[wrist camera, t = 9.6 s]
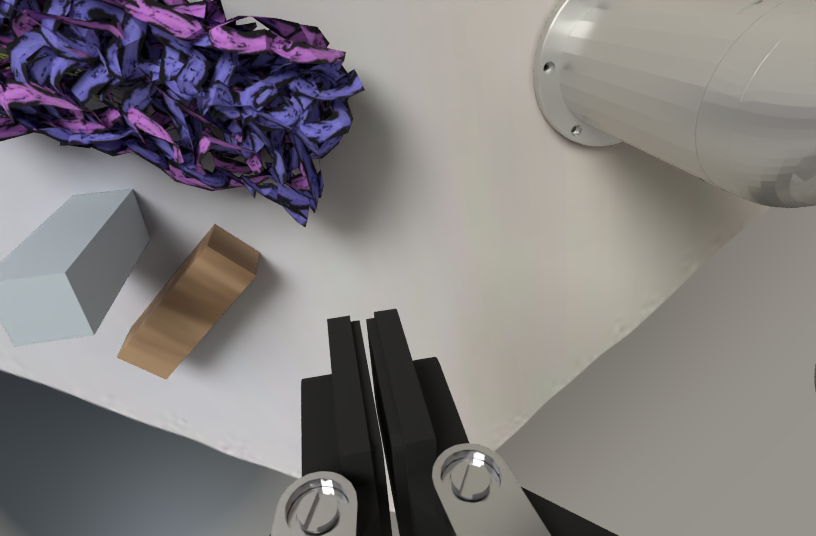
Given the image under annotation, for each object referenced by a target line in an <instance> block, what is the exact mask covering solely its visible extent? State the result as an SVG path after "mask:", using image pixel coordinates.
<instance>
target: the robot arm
mask: <svg viewBox="0 0 816 536" xmlns="http://www.w3.org/2000/svg"><path fill="white" fill-rule="evenodd" d="M545 64H547V67H546V69H545V70H543V68H544V65H545ZM533 74H534V89H535V93H536V98H537V102H538V105H539V107H540V109H541V111H542V113H543V115H544V117H545V118H546V120H547V121H548V122H549V124H550V125H551V126H552V127H553V128H554V129H555V130H556V131H558V132H559V133H560V134H561V135H563V136H564V137H566V138H568V139H570V140H572V141H574V142H577V143H580V144H583V145H587V146H597V147H600V146H609V145H614V144H618V143H621V142H625V143H627V144H629V145H631V146H633V147H635V148H637V149H639V150H642V151H644V152H646V153H648V154H650V155H652V156H654V157H656V158H658V159H660V160H662V161H664V162H666V163H669V164H671V165H673V166H675V167H677V168H679V169H681V170H683V171H685V172H687V173H689V174H691V175H693V176H696V177H698V178H700V179H702V180H704V181H706V182H708V183H710V184H712V185H714V186H716V187H718V188H720V189H723V190H725V191H728V192H730V193H732V194H734V195H736V196H738V197H741V198H743V199H745V200H748V201H751V202H754V203H757V204H761V205H765V206H770V207H782V208H798V207H807V206H815V205H816V0H561V1H560V2H559V3H558V5H557V6H556V8H555V9H554V11H553V12H552V14H551V16H550V17H549V19H548V21H547V23H546V25H545V27H544V30H543V32H542V34H541V36H540V40H539V43H538V47H537V50H536V54H535V62H534V71H533ZM573 127H574V128H573ZM572 128H573V130H572ZM366 322H367V331H368V340H369V349H370V358H371V367H372V375H373V384H374V393H375V402H376V408H375V403H374V397H373V392H372V387H371V381H370V376H369V370H368V365H367V359H366V354H365V348H364V343H363V337H362V332H361V326H360V321H359V320H358V321H352V322H351V321H350V316H345V317H338V318H331V319H327V323H328V335H329V346H330V358H331V369H332V374H330V375H324V376H318V377H312V378H306V379H302V381H301V429H302V477H301V478H299V479H297V480H296V481H295V482H294V483H293V484H291V485H290V486H289V487H288V488H287V489H286V491H285V492H284V493H283V495H282V496H281V498H280V500H279V503H278V506H277V508H276V513H275V518H274V523H273V528H272V533H271V535H270V536H392V530H391V520H390V511H389V501H388V492H387V483H386V474H385V465H384V456H383V449H382V442H383V447H384V453H385V458H386V464H387V469H388V474H389V480H390V485H391V491H392V496H393V501H394V507H395V512H396V518H397V523H398V529H399V534H400V536H618V535H616V534H614V533H612V532H610V531H608V530H606V529H604V528H602V527H600V526H598V525H596V524H594V523H592V522H590V521H588V520H586V519H584V518H582V517H580V516H578V515H576V514H574V513H572V512H570V511H568V510H566V509H564V508H562V507H560V506H558V505H556V504H554V503H552V502H550V501H548V500H546V499H544V498H542V497H540V496H538V495H536V494H534V493H532V492H530V491H528V490H526V489H524V488H522V487H520V485H519V484H518V482H517V481H516V479H515V477H514V476H513V474H512V473H511V471H510V469H509V468H508V466H507V465H506V463H505V462H504V461H503V459H502V458H501V457H500V456H499V455H498V454H497V453H495V452H494V451H492V450H491V449H489V448H487V447H484V446H482V445H479V444H469V441H468V438H467V436H466V433H465V430H464V428H463V425H462V422H461V420H460V417H459V414H458V411H457V409H456V406H455V403H454V401H453V398H452V395H451V393H450V390H449V387H448V385H447V382H446V379H445V377H444V374H443V371H442V369H441V366H440V363H439V361H438V359H437V358H436V357H432V358H426V359H420V360H414V361H412V358H411V354H410V351H409V348H408V344H407V341H406V338H405V335H404V331H403V328H402V325H401V321H400V318H399V315H398V312H397V309H391V310H384V311H378V312H374V318H371V319H366ZM815 390H816V367H815ZM376 409H377V414H376ZM377 415H378V419H377ZM378 420H379V425H378ZM379 426H380V430H379ZM380 431H381V436H380ZM381 437H382V442H381Z"/></svg>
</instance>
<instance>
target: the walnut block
mask: <svg viewBox="0 0 816 536" xmlns="http://www.w3.org/2000/svg"><path fill="white" fill-rule="evenodd" d="M258 259H259V252H258V251H257V250H255V249H254V248H252V247H250V246H249V245H247V244H246V243H244V242H243V241H241V240H239V239H238V238H236V237H235V236H233V235H231V234H230V233H228V232H227V231H225V230H224V229H222V228H220V227H219V226H217V225H216V224H214V226H213V227H212V228H211V229H210V231H209V232H208V233H207V234H206V236H205V237H204V238H203V239H202V241H201V242H200V243H199V244H198V245H197V247H196V248H195V249H194V250H193V252H192V253H191V254H190V255H189V257H188V258H187V259H186V260H185V262H184V263H183V264H182V265H181V267H180V268H179V269H178V270H177V272H176V273H175V274H174V275H173V276H172V278H171V279H170V280H169V281H168V283H167V284H166V285H165V286H164V288H163V289H162V290H161V291H160V293H159V294H158V295H157V296H156V298H155V299H154V300H153V301H152V302H151V304H150V305H149V306H148V307H147V309H146V310H145V311H144V312H143V314H142V315H141V316H140V317H139V319H138V320H137V321H136V322H135V324H134V325H133V326H132V327H131V329H130V331H129V333H128V335H127V337H126V339H125V341H124V343H123V345H122V347H121V350H120V352H119V354H118V356H117V358H119V359H121V360H124V361H126V362H128V363H130V364H133V365H135V366H137V367H139V368H142V369H144V370H146V371H148V372H150V373H153V374H155V375H157V376H159V377H162V378H164V379H167V378H168V377H169V376H170V375H171V373H172V372H173V371H174V370H175V369H176V368H177V366H178V365H179V364H180V363H181V362H182V361H183V360H184V358H185V357H186V356H187V355H188V354H189V353H190V351H191V350H192V349H193V348H194V347H195V346H196V345H197V343H198V342H199V341H200V340H201V339H202V338H203V336H204V335H205V334H206V333H207V332H208V331H209V330H210V328H211V327H212V326H213V325H214V324H215V323H216V321H217V320H218V319H219V318H220V317H221V316H222V315H223V313H224V312H225V311H226V310H227V309H228V308H229V306H230V305H231V304H232V303H233V302H234V301H235V300H236V298H237V297H238V296H239V295H240V294H241V293H242V291H243V290H244V289H245V288H246V287H247V286H248V285H249V283H250V282H251V281H252V280H253V279H254V278H255V276H256V273H257V266H258Z"/></svg>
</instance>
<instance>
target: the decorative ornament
mask: <svg viewBox="0 0 816 536" xmlns="http://www.w3.org/2000/svg"><path fill="white" fill-rule="evenodd" d="M246 17H249V16H237V17H235V18H233V19H232V18H231V19H229V20H227V21H226V17H225V14H224V10H223V7H222V3H221V0H213V1H211V0H203V1H200V2H193V3H189V2H188V1H187V0H0V43H1V44H3V46H0V47H3V48H4V47H5V49H6V48H7V52H8V55H6V54H3V53H0V58H3V59H5V60H3V61H1V62H0V141H4V140H7V139H11V138H15V137H19V136H22V135H26V134H30V133H33V132H35V133H41V134H45V135H47V136H49V137H51V138H53V139H55V140H57V141H59V142H60V146H64V145H70V146H77V147H84V148H91V147H92V148H94V149H96V150H99V151H101V152H104V153H106V154H109V155H111V156H117V155H121V154H125V153H129V152H134V153H135V154H137V155H139V156H140V157H142V158H144V159H145V160H147V161H149V162H150V163H152V164H154V165H155V166H157V167H159V168H160V169H162V170H163V171H164V172H165V173H166V174H167V175H169V176H170V177H171V178H172V179H173V180H174V181H176V182H179V183H183V184H187V185H191V186H195V187H198V188H202V189H206V190H210V191H215V190H222V189H229V188H236V187H243V186H245V187H246V188H247V190H248V191H249V192H250V193H251V194H252V196H253V197H254V198H255V196H256V191H257V192H258V193H260V194H261V195H263V196H264V197H266V198H268V199H270V200H272V201H274V202H276V203H278V204H280V205H282V206H283V207H284V208H285V209H286V210H287V212H288V213H289V214H290V215H291V216H292V217H293V218H294V219H295V220H296V221H297V222H298V223H299V224H301V225H303V226H304V227H306V223H307V218H308V211H309V206H310V207H311V209H312V210H313V212H314V213H315V211H316V208H317V202H318V198H320V197H321V195H322V191H323V186H324V184H323V179H322V174H321V170H320V171H319V172H318V174H317V172H316V169H315V167H314V164H313V161H312V159H322V158H323V157H324V156H326V155H327V154H328V153H329V152H330V151H331V150H332V149H333V148H334V147H335V146H336V145H338V143H339V141H340V139H341V137H342V135H343V134H346V133H348V132H349V129H350V126H351V123H352V120H353V117H352V114H351V111H350V108H349V105H348V102H347V101H348V99H349V97H351V96H353V95H355V94H357V93H359V92H362V91H364V88H363V86H362V84H361V82H360V79H359V77H358V75H357V73H356V71H355V69H354V70H352V71H351V72H349V73H347V72H346V70H345V69H344V67H343V66H342V63H343V62H344V59H345V54H346V52H343V51H338V50H334V49H329V48H327V46H328V45H329V42H328V41H327V39H326V38H325V37H324V35H323V34H322V33H321V31H320V30H319V29H318V27H315V26H308V25H301V24H299V23H295V22H290V21H286V20H282V19H277V18H268V17H257V16H250V17H253V18H255V19H256V20H257V21H259V22H260V23H262V24H263V25H265V26H266V27H267V28H269V29H270V30H268V31H267V30H265V29H262V30H255V31H253V30H254V29H255V28H256V27H257V25H256V22H255V23H249V24H244V25H236V20H239V19H243V18H246ZM106 18H111V19H106ZM3 24H6V25H8V27H7V26H4V25H3ZM2 55H3V56H2ZM5 56H7V57H5ZM142 57H143V58H142ZM6 60H8V61H6ZM4 61H6V62H4ZM9 62H10V63H9ZM94 63H95V65H93V66H91V67H89V66H90V65H91V64H94ZM82 67H83V68H86V69H87V70H85V71H83V72H79V71H77V72H78V74H75V72H76V69H79V68H82ZM140 80H141V81H142V82H143V84H142V85H140V86H138V87H136V88H134V89H132V90H130V91H128V92H126V93H125V95H124V97H123V100H122V103H121V104H120V103H117V102H115V103H117V104H118V105H116V104H114V101H113V98H112V95H113V94H112V93H111V91H110V89H111V88H112V86H117V85H119V87H120V88H121V87H127V86H129V87H130V86H133V85H134V83H135V82H136V81H140ZM56 86H57V87H56ZM114 89H116V88H114ZM119 90H121V89H119ZM123 91H125V90H123ZM111 94H112V95H111ZM98 95H99V96H98ZM94 96H97V97H100V99H99V98H96V97H94ZM113 96H115V95H113ZM115 97H116V96H115ZM90 98H92V99H94V98H95V99H98V100H101V101H102V102H103V103H104V104H106V105H108V107H104V108H100V109H96V110H92V111H91V110H89V109H88V108H86V107H85V106H84V104H85V103H86V102H87V101H88V100H89V99H90ZM117 98H118V97H117ZM105 99H106V100H107V101H106V100H105ZM119 99H120V98H119ZM98 100H97V101H98ZM120 100H121V99H120ZM101 101H100V102H101ZM327 101H329V108H326V107H327ZM150 103H151V105H152V107H153V109H154V111H155V112H154V113H153V114H152V115H150V116H149V115H148V114H146V113H147V112H146V111H147V109H148V107H149V105H150ZM115 106H117V107H115ZM197 107H198V108H197ZM327 109H329V118H327V119H326V110H327ZM149 114H150V113H149ZM4 116H6V117H4ZM171 125H174V127H175V128H172V129H176V130H177V132H178V134H179V136H180V138H181V140H178V141H174V140H173V139H172V138H171V137H170V136H169V134H168V133H167V132H166V131H165V129H167V128H168V127H169V126H171ZM210 126H213V127H216V128H218V129H220V130H222V131H223V134H224V141H223V140H220V139H218V138H217V137H216V136H215V135H214V134H213V133H212V132H211V131H210V128H209V127H210ZM172 129H170V130H172ZM168 131H169V130H168ZM286 131H287V132H286ZM317 142H318V143H317ZM285 144H288V145H289V146H290V147H291V148H290V149H289V150H287V151H286V147H285ZM263 146H264V147H265V148H266V150H267V151H268V153H269V154H270V155H271V157H272V158H273V163H270V162H265V163H266V167H267V169H265V168H264V167H263V166H262V155H261V148H262V147H263ZM207 152H211V153H212V157H213V160H214V163H215V168H214V171H213V173H212V172H210V171H208V170H206V169H204V167H203V165H202V164H201V160H202V159H203V158H204V156H205V155H206V154H207ZM239 155H241V156H242V157H244V158H245V162H246V163H247V164H245V163H242V162H239V161H236V160H233V159H230V158H234V157H236V156H239ZM224 156H226V157H224ZM227 157H230V158H227ZM319 163H320V160H319ZM296 168H299V170H300V172H301V174H298V175H296V176H295V175H294V174H293V173H292V172H291V171H292V170H294V169H296ZM320 169H321V168H320ZM230 172H233V173H243V174H251V173H252V172H254V174H255V175H249V176H244V175H242V174H241V176H240V177H237V176H235V175H234V174H232V173H230ZM269 178H271V179H272V180H274V181H276V182H278V187H277V186H275V185H273V184H272V183H263V185H257V184H260V183H261V182H263V181H265V180H267V179H269ZM284 184H286V185H288V186H289V187H290V188H292V189H293V190H292V189H290V188H288V187H286V186H284Z"/></svg>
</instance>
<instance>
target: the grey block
mask: <svg viewBox="0 0 816 536" xmlns="http://www.w3.org/2000/svg"><path fill="white" fill-rule="evenodd" d="M149 240H150V237H149V234H148V231H147V228H146V225H145V223H144V220H143V217H142V214H141V211H140V208H139V206H138V203H137V200H136V197H135V194H134V191H133V189H129V190H119V191H110V192H101V193H92V194H82V195H73V196H71V197H70V198H69V199H68V200H67V201H66V202H65V203H64V204H63V205H62V206H61V207H60V208H59V209H58V210H56V211H55V212H54V213H53V214H52V215H51V216H50V217H49V218H48V219H47V220H46V221H45V222H44V223H43V224H41V225H40V226H39V227H38V228H37V229H36V230H35V231H34V232H33V233H32V234H31V235H30V236H29V237H28V238H26V239H25V240H24V241H23V242H22V243H21V244H20V245H19V246H18V247H17V248H16V249H15V250H14V251H12V252H11V253H10V254H9V255H8V256H7V257H6V258H5V259H4V260H3V261H2V262H1V263H0V323H1V324H2V326H3V328H4V330H5V331H6V333H7V335H8V337H9V338H10V340H11V342H12V343H13V345H14V347H16V346H23V345H30V344H36V343H43V342H50V341H57V340H64V339H71V338H78V337H84V336H91V335H94V334H95V333H96V331H97V329H98V328H99V326H100V324H101V322H102V321H103V319H104V317H105V316H106V314H107V312H108V310H109V309H110V307H111V305H112V304H113V302H114V300H115V298H116V297H117V295H118V293H119V292H120V290H121V288H122V286H123V285H124V283H125V281H126V280H127V278H128V276H129V274H130V273H131V271H132V269H133V268H134V266H135V264H136V262H137V261H138V259H139V257H140V256H141V254H142V252H143V250H144V249H145V247H146V245H147V244H148V242H149Z"/></svg>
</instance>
